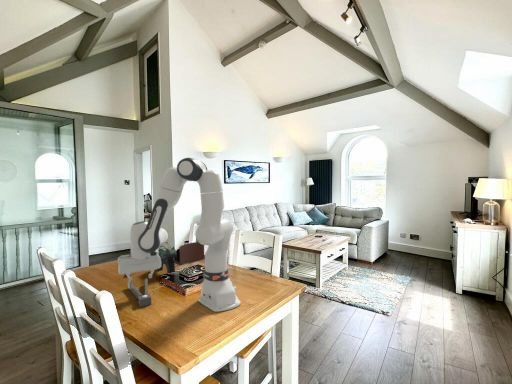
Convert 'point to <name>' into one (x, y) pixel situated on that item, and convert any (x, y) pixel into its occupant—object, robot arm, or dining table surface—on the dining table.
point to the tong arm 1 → (134, 290)
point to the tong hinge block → (144, 300)
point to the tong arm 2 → (146, 286)
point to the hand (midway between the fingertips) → (140, 279)
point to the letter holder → (189, 253)
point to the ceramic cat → (167, 258)
